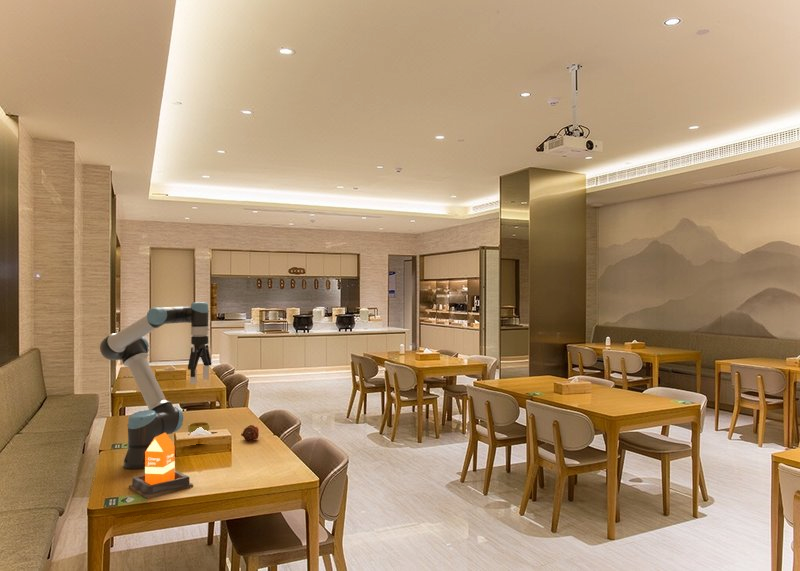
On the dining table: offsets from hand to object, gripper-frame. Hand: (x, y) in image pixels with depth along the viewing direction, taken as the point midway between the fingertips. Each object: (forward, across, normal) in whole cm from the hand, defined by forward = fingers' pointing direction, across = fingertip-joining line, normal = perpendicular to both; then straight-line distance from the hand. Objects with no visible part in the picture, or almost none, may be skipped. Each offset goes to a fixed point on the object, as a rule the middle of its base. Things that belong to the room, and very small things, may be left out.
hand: (200, 381), depth 264 cm
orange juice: (+36, -36, +1) cm, 51 cm away
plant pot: (+37, +33, +15) cm, 52 cm away
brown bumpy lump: (+37, +40, -10) cm, 55 cm away
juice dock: (+37, -35, +1) cm, 51 cm away
